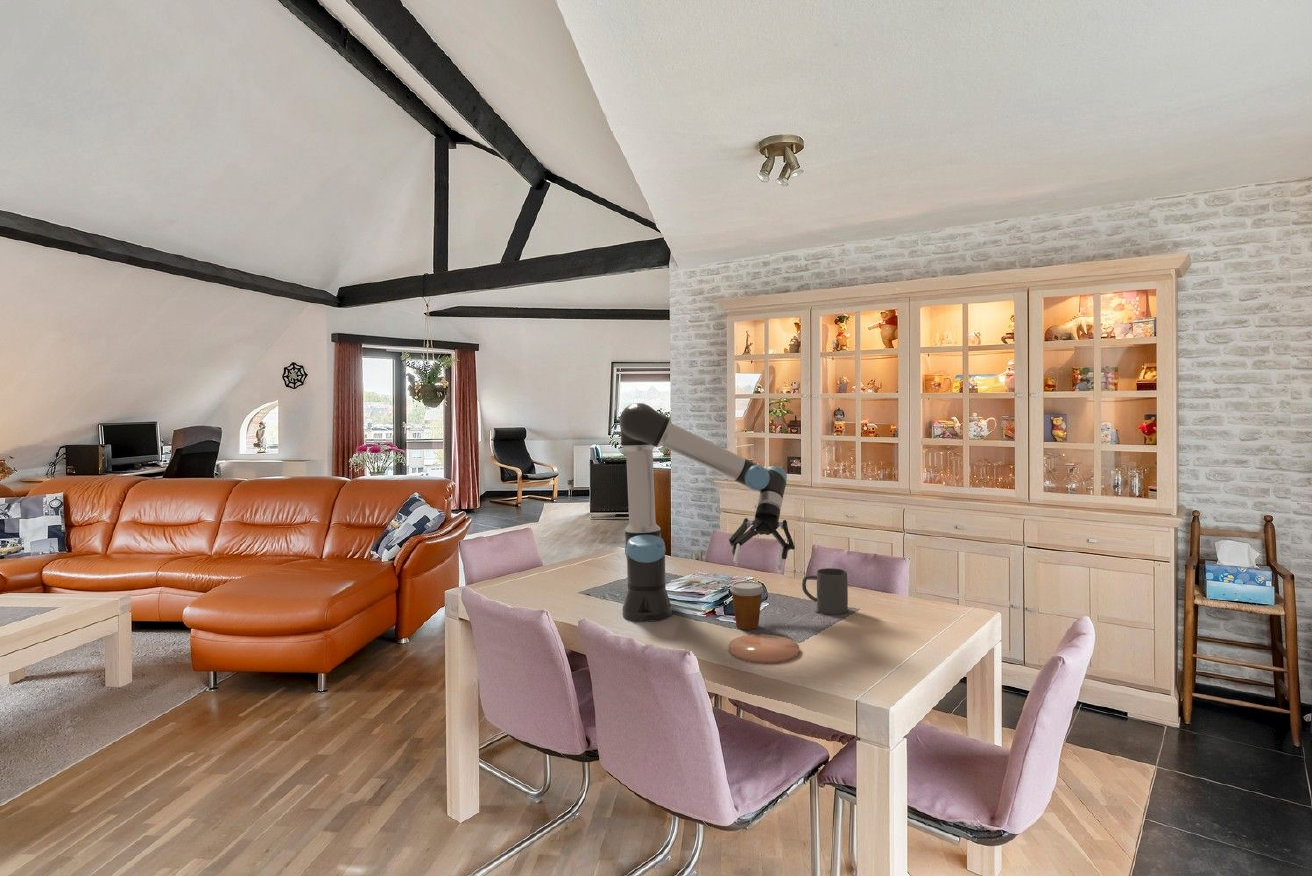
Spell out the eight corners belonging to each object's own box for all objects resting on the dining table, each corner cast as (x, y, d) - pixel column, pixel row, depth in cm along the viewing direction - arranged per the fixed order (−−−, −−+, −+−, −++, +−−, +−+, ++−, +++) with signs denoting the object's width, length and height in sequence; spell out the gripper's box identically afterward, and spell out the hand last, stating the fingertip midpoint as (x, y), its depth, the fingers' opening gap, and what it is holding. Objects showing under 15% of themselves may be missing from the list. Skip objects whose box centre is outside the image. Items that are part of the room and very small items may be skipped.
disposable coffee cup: (763, 632, 189) (762, 589, 188) (729, 630, 191) (728, 588, 190) (764, 621, 198) (764, 581, 198) (732, 620, 200) (731, 580, 200)
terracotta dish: (713, 650, 175) (713, 645, 175) (759, 634, 187) (759, 629, 187) (768, 669, 162) (768, 664, 162) (813, 650, 174) (813, 645, 174)
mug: (849, 607, 211) (848, 569, 210) (846, 616, 202) (845, 576, 202) (804, 604, 216) (804, 566, 215) (800, 612, 207) (799, 573, 207)
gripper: (809, 517, 214) (800, 575, 201) (733, 514, 224) (720, 569, 211) (806, 503, 209) (796, 561, 196) (728, 500, 219) (714, 555, 206)
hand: (756, 565), depth 204 cm, fingers open, 13 cm apart
